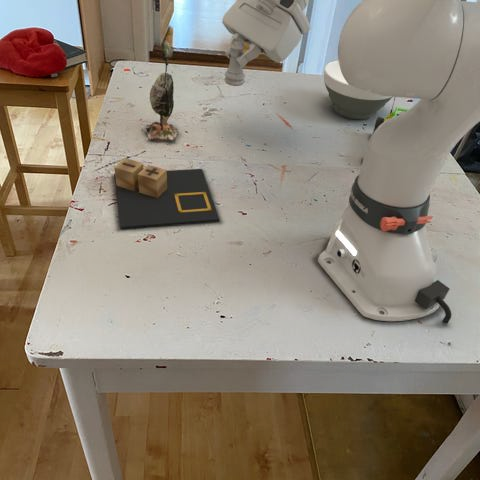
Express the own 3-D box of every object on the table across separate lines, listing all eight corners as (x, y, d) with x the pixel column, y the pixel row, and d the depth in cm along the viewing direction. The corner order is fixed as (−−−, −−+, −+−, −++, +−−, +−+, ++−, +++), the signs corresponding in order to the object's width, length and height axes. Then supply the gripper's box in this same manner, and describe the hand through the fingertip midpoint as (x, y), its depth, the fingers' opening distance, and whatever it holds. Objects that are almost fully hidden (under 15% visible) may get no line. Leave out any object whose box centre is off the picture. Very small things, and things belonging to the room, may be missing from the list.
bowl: (308, 95, 131) (315, 58, 124) (373, 95, 134) (383, 59, 127) (330, 128, 118) (339, 89, 111) (402, 127, 121) (415, 89, 114)
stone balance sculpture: (184, 123, 113) (183, 30, 99) (174, 145, 106) (171, 48, 91) (151, 119, 114) (145, 25, 99) (138, 141, 106) (130, 42, 91)
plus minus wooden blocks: (157, 198, 90) (156, 179, 87) (116, 185, 92) (113, 166, 89) (167, 188, 93) (166, 169, 90) (127, 176, 95) (125, 157, 92)
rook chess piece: (219, 81, 101) (222, 39, 95) (233, 76, 103) (237, 36, 97) (234, 88, 99) (238, 46, 93) (248, 83, 101) (253, 42, 96)
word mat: (219, 221, 88) (219, 218, 87) (120, 229, 84) (120, 226, 83) (201, 171, 99) (201, 168, 99) (114, 176, 96) (113, 172, 95)
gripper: (243, -24, 98) (200, 33, 101) (302, 5, 87) (251, 68, 90) (258, 1, 103) (217, 54, 106) (316, 31, 92) (267, 89, 95)
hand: (233, 60), depth 98 cm, fingers closed on rook chess piece, 3 cm apart
